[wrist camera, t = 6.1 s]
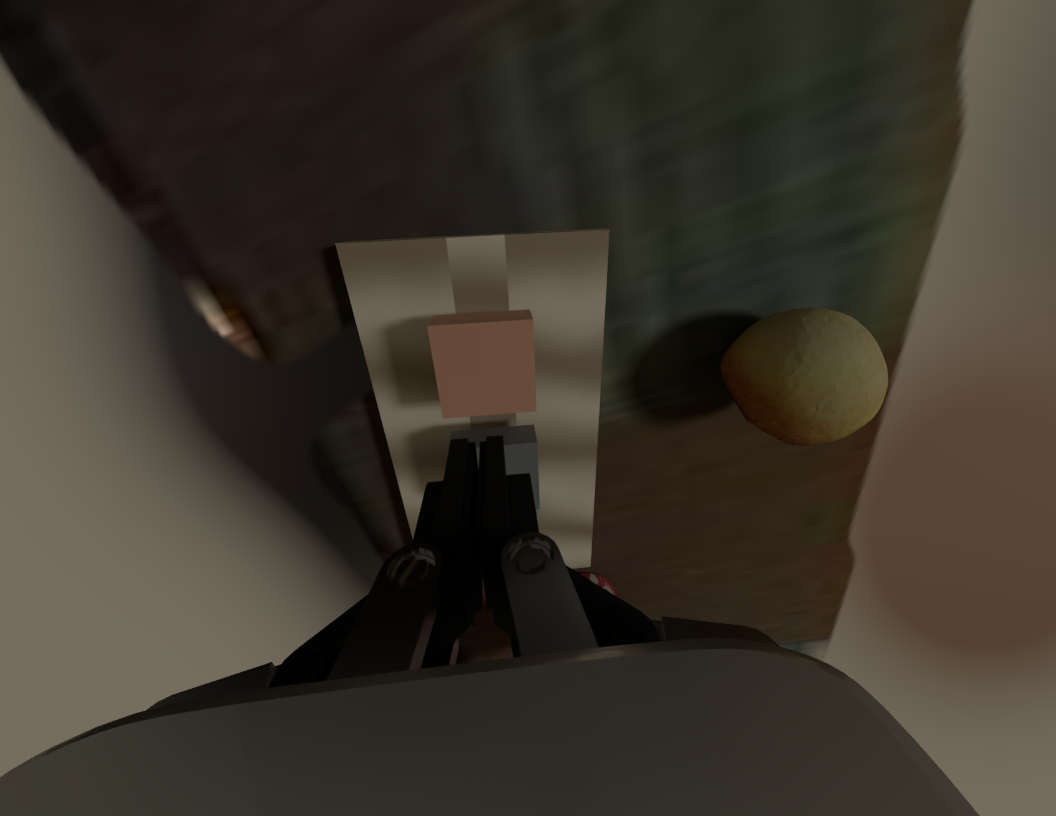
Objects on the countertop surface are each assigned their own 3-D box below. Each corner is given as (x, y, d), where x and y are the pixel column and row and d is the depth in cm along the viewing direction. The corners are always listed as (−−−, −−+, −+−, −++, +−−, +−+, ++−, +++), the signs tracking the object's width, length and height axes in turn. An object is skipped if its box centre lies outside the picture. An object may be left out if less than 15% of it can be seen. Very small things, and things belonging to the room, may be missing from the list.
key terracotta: (435, 310, 20) (427, 325, 17) (527, 304, 20) (533, 319, 18) (448, 393, 22) (442, 418, 20) (530, 387, 23) (536, 411, 20)
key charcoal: (453, 421, 23) (448, 450, 21) (532, 415, 24) (537, 442, 21) (462, 484, 26) (459, 516, 23) (534, 477, 26) (539, 508, 23)
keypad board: (345, 241, 20) (335, 243, 19) (602, 228, 21) (609, 229, 19) (427, 568, 32) (424, 584, 31) (586, 552, 33) (590, 566, 32)
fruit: (798, 394, 27) (905, 458, 20) (687, 406, 27) (758, 476, 20) (830, 287, 24) (975, 320, 17) (703, 300, 23) (796, 339, 16)
